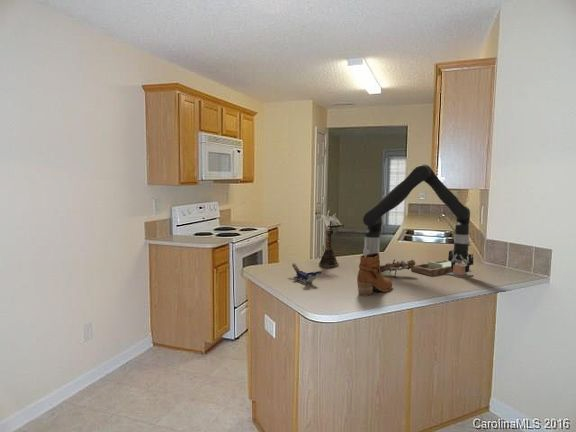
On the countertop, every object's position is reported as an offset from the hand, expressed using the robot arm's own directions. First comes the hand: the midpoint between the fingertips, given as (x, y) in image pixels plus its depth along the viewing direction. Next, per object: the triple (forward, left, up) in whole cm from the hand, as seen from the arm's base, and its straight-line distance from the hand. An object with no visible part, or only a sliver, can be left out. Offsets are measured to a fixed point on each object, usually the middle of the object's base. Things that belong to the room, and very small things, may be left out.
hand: (460, 270), depth 226 cm
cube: (0, 0, -2) cm, 2 cm away
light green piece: (+7, +14, -1) cm, 16 cm away
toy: (-83, +34, -3) cm, 90 cm away
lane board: (-1, +14, -3) cm, 14 cm away
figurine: (-36, +19, -3) cm, 41 cm away
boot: (-64, 0, -3) cm, 64 cm away
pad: (0, 0, -3) cm, 3 cm away
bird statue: (-49, +54, -3) cm, 73 cm away
